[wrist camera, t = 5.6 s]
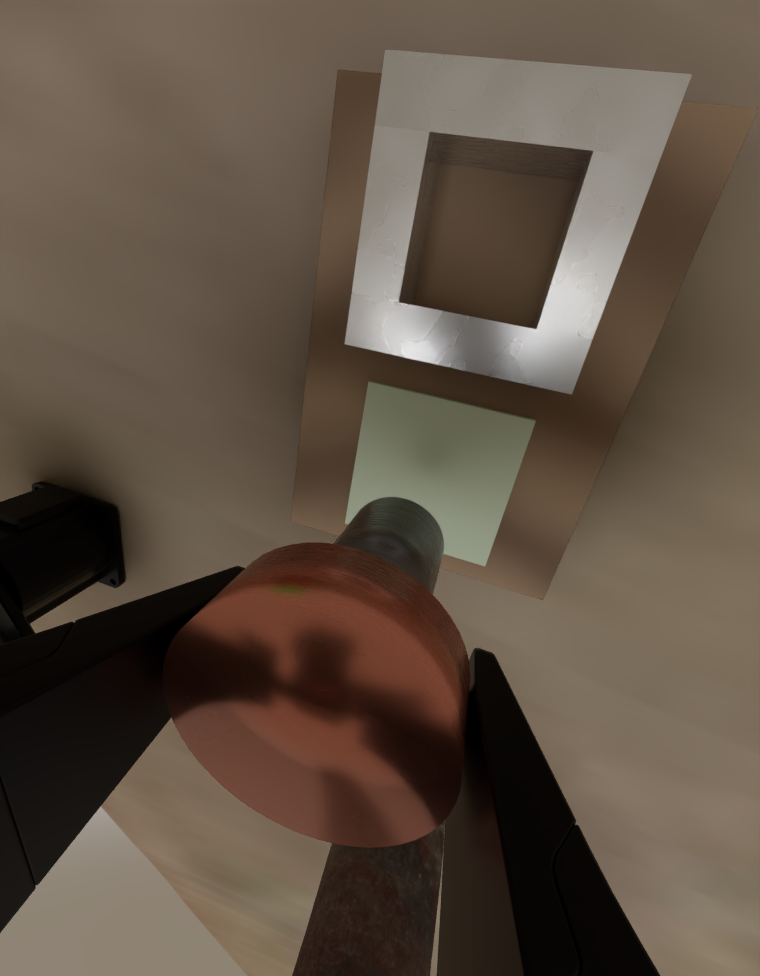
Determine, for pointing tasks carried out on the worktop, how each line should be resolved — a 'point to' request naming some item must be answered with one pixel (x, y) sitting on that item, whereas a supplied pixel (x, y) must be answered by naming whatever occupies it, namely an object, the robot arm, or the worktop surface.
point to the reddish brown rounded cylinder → (332, 683)
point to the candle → (375, 911)
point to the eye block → (518, 149)
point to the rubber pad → (440, 463)
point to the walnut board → (502, 320)
